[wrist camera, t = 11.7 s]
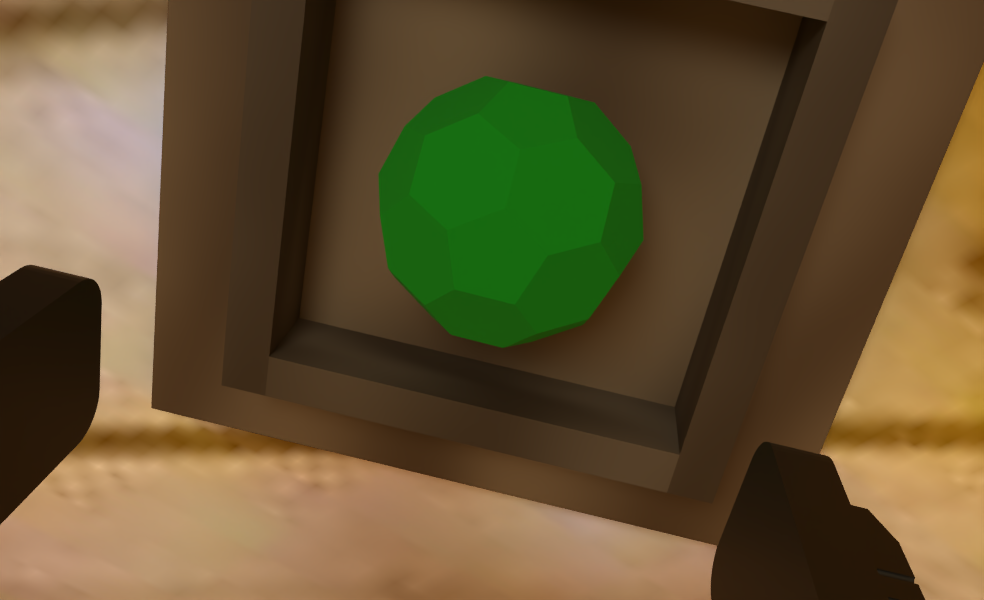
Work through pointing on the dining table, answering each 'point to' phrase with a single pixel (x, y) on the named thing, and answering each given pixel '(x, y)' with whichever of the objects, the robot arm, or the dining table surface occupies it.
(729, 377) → the tray
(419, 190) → the polyhedron
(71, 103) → the dining table surface
